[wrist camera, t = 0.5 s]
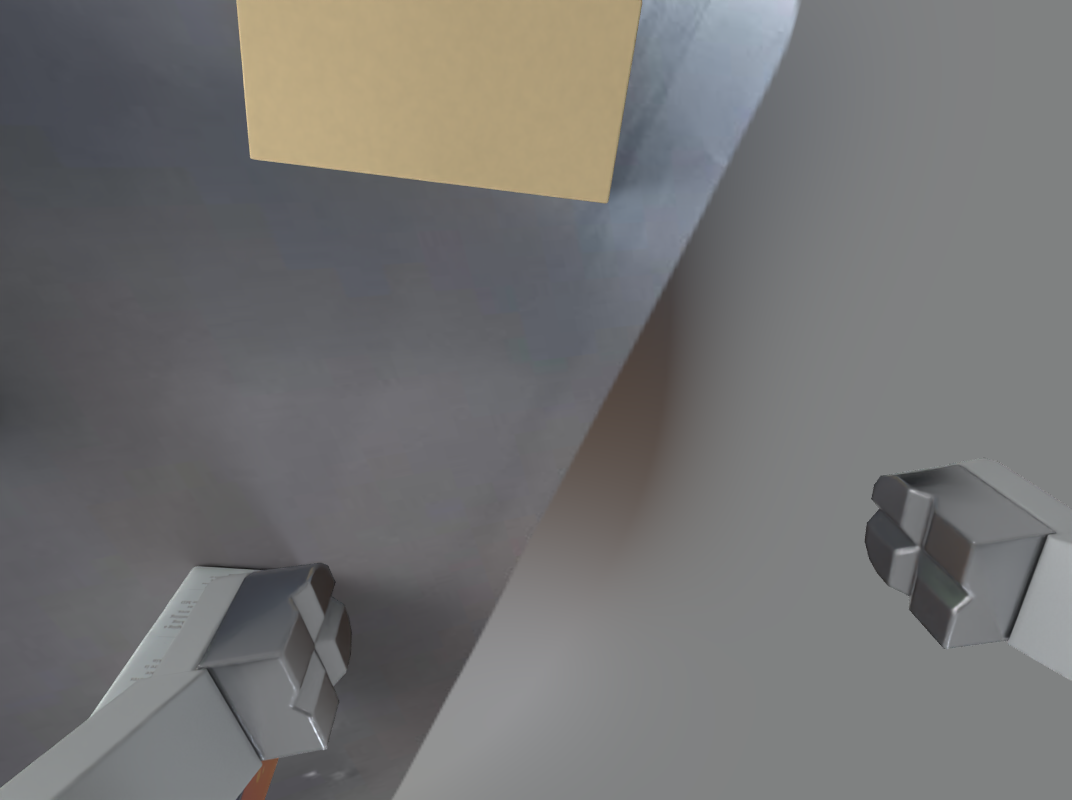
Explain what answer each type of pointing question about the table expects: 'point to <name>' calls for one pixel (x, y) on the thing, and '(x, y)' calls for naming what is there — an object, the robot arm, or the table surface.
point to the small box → (160, 642)
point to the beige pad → (442, 89)
